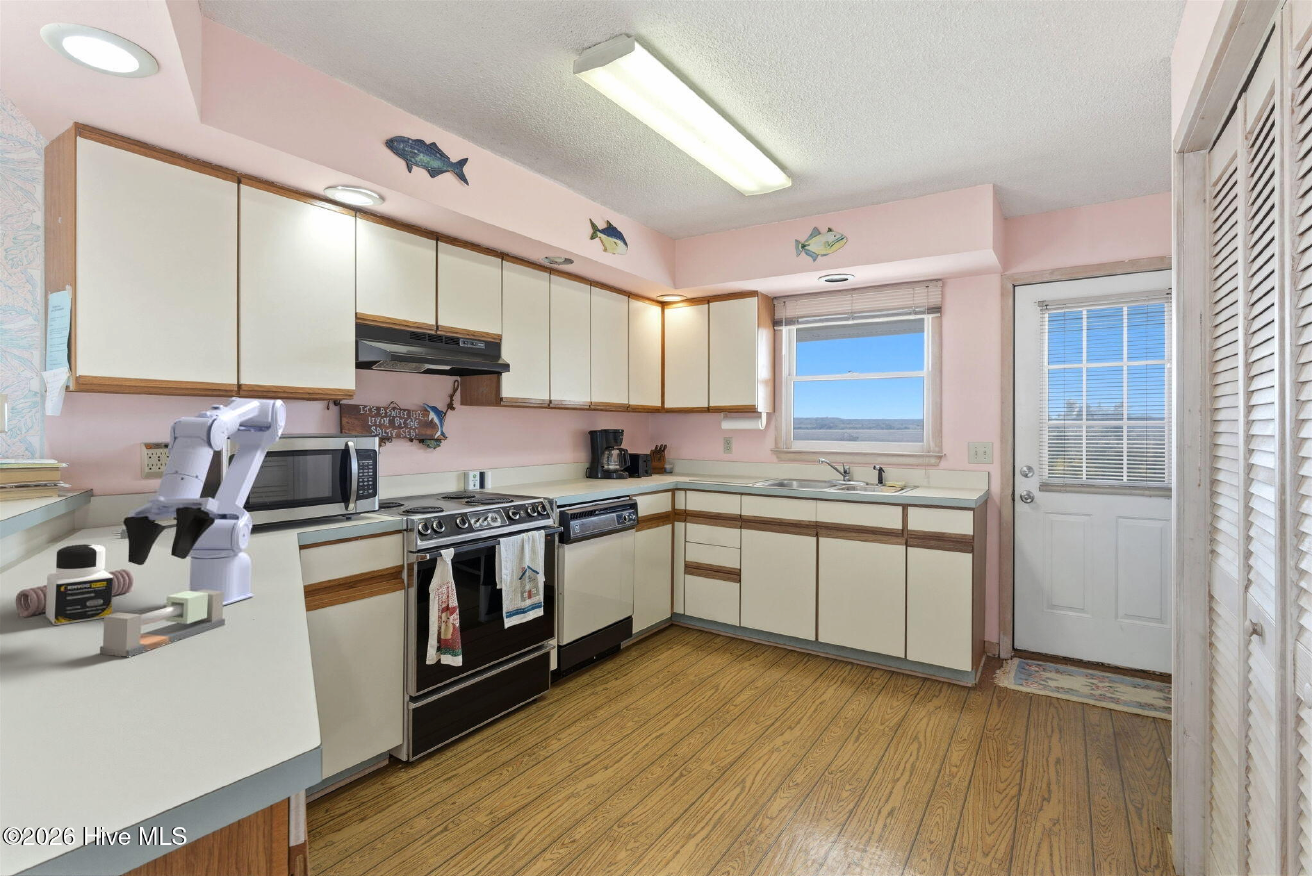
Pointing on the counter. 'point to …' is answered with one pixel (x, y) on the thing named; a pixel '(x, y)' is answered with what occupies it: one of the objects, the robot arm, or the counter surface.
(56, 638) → the counter surface
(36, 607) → the coil
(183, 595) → the sleeve
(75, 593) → the medicine bottle
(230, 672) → the counter surface
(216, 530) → the robot arm
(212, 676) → the counter surface
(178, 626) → the rod with sliding collar
